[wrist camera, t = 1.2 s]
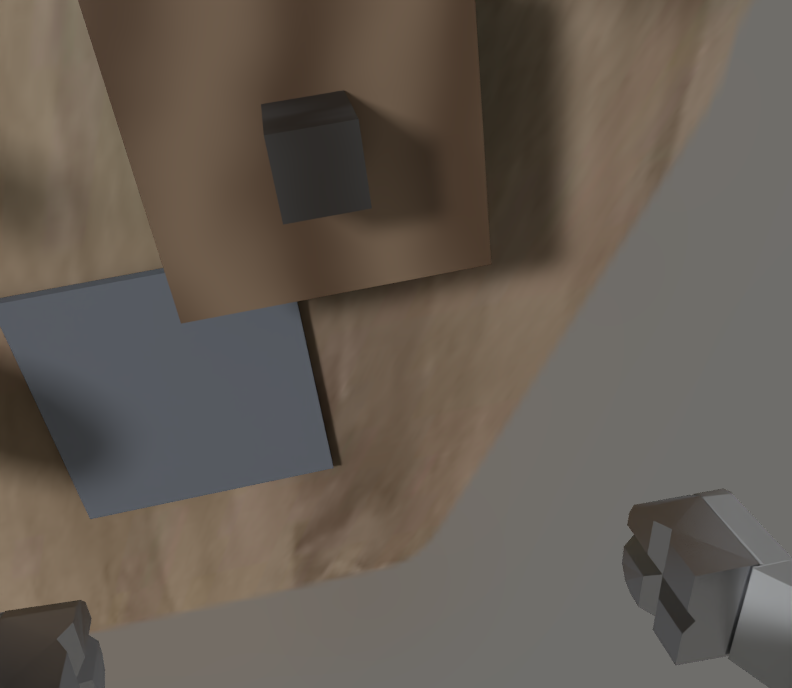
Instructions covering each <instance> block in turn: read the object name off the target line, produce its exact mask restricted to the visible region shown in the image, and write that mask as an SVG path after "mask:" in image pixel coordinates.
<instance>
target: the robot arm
mask: <svg viewBox="0 0 792 688" xmlns="http://www.w3.org/2000/svg"><path fill="white" fill-rule="evenodd" d="M627 525H628V526H629V528H630V529H631V531H632V532H633V533H634V535H633V536H632V538H631V539H630V540H629V541H628V542H627V543H626V545H625V546H624V551H623V559H622V565H623V571H624V577H625V581H626V584H627V586H628V589H629V591H630V593H631V595H632V597H633V599H634V600H635V602H636V604H637V605H638V606H639V607H640V608H642V609H643V610H645V611H647V612H649V613H650V614H652V615H654V616H655V619H654V626H653V631H654V632H655V634H656V635H657V637H658V638H659V640H660V642H661V643H662V645H663V646H664V648H665V649H666V651H667V653H668V654H669V656H670V657H671V659H672V661H673V662H674V664H675V665H680V664H686V663H691V662H697V661H703V660H708V659H714V658H719V657H724V656H729V657H728V659H729V660H731V661H732V662H733V663H735V664H736V665H738V666H739V667H740V668H742V669H743V670H745V671H746V672H748V673H749V674H750V675H752V676H753V677H755V678H756V679H758V680H759V681H760V682H762V683H763V684H765V685H766V686H767V687H769V688H792V557H791V556H790V555H789V554H788V552H787V551H786V550H785V549H784V548H783V547H782V546H781V545H780V544H779V543H778V542H777V541H776V540H775V539H774V537H773V536H772V535H771V534H770V533H769V532H768V531H767V530H766V529H765V528H764V527H763V526H762V524H761V523H760V522H759V521H758V520H757V519H756V518H755V517H754V516H753V515H752V514H751V513H750V512H749V511H748V509H747V508H746V507H745V506H744V505H743V504H742V503H741V502H740V501H739V500H738V499H737V498H736V497H735V496H734V494H732V493H731V492H730V491H727V490H726V489H718V490H713V491H707V492H702V493H697V494H693V495H687V496H681V497H675V498H669V499H664V500H658V501H653V502H648V503H642V504H637V505H634V506H633V507H632V509H631V511H630V513H629V518H628V524H627ZM90 624H91V616H90V613H89V610H88V608H87V605H86V602H85V601H82V600H77V601H70V602H63V603H56V604H50V605H43V606H36V607H29V608H22V609H16V610H9V611H5V612H1V613H0V688H105V668H104V661H103V655H102V651H101V648H100V644H99V641H97V640H96V639H94V638H93V637H91V636H89V630H90Z"/></svg>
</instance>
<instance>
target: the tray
mask: <svg viewBox="0 0 792 688" xmlns="http://www.w3.org/2000/svg"><path fill="white" fill-rule="evenodd" d="M0 327H1V329H2V331H3V333H4V335H5V337H6V340H7V342H8V344H9V346H10V348H11V350H12V352H13V355H14V357H15V359H16V361H17V363H18V365H19V367H20V370H21V372H22V374H23V376H24V378H25V380H26V382H27V385H28V387H29V389H30V391H31V393H32V395H33V397H34V400H35V402H36V404H37V406H38V408H39V410H40V412H41V415H42V417H43V419H44V421H45V423H46V425H47V427H48V430H49V432H50V434H51V436H52V438H53V440H54V442H55V445H56V447H57V449H58V451H59V453H60V455H61V457H62V460H63V462H64V464H65V466H66V468H67V470H68V472H69V475H70V477H71V479H72V481H73V483H74V485H75V487H76V490H77V492H78V494H79V496H80V498H81V500H82V502H83V505H84V507H85V509H86V511H87V513H88V515H89V517H90V519H93V518H98V517H103V516H107V515H112V514H117V513H122V512H126V511H131V510H136V509H141V508H145V507H150V506H155V505H160V504H164V503H169V502H174V501H179V500H184V499H188V498H193V497H198V496H203V495H207V494H212V493H217V492H222V491H226V490H231V489H236V488H241V487H245V486H250V485H255V484H260V483H264V482H269V481H274V480H279V479H283V478H288V477H293V476H298V475H302V474H307V473H312V472H317V471H321V470H326V469H331V468H333V462H332V458H331V453H330V448H329V444H328V439H327V435H326V430H325V426H324V421H323V417H322V412H321V407H320V403H319V398H318V394H317V389H316V385H315V380H314V375H313V371H312V366H311V362H310V357H309V353H308V348H307V344H306V339H305V334H304V330H303V325H302V321H301V316H300V312H299V307H298V302H292V303H286V304H281V305H276V306H271V307H266V308H260V309H255V310H250V311H245V312H239V313H234V314H229V315H224V316H218V317H213V318H208V319H203V320H198V321H192V322H187V323H182V324H181V322H180V319H179V316H178V313H177V309H176V306H175V303H174V300H173V297H172V294H171V291H170V287H169V284H168V281H167V278H166V275H165V272H164V269H163V268H161V269H156V270H150V271H145V272H139V273H134V274H129V275H123V276H118V277H112V278H107V279H101V280H96V281H91V282H85V283H80V284H74V285H69V286H64V287H58V288H53V289H47V290H42V291H37V292H31V293H26V294H20V295H15V296H10V297H4V298H0Z"/></svg>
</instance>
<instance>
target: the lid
mask: <svg viewBox="0 0 792 688" xmlns="http://www.w3.org/2000/svg"><path fill="white" fill-rule="evenodd" d="M78 1H79V5H80V8H81V11H82V14H83V17H84V20H85V23H86V27H87V30H88V33H89V36H90V39H91V42H92V45H93V49H94V52H95V55H96V58H97V61H98V64H99V67H100V71H101V74H102V77H103V80H104V83H105V86H106V89H107V93H108V96H109V99H110V102H111V105H112V108H113V111H114V115H115V118H116V121H117V124H118V127H119V130H120V133H121V137H122V140H123V143H124V146H125V149H126V152H127V155H128V159H129V162H130V165H131V168H132V171H133V174H134V177H135V181H136V184H137V187H138V190H139V193H140V196H141V199H142V203H143V206H144V209H145V212H146V215H147V218H148V221H149V225H150V228H151V231H152V234H153V237H154V240H155V243H156V247H157V250H158V253H159V256H160V259H161V262H162V265H163V269H164V272H165V275H166V278H167V281H168V284H169V287H170V291H171V294H172V297H173V300H174V303H175V306H176V309H177V313H178V316H179V319H180V322H181V324H182V323H187V322H192V321H198V320H203V319H208V318H213V317H218V316H224V315H229V314H234V313H239V312H245V311H250V310H255V309H260V308H266V307H271V306H276V305H281V304H286V303H292V302H297V301H302V300H307V299H313V298H318V297H323V296H328V295H334V294H339V293H344V292H349V291H354V290H360V289H365V288H370V287H375V286H381V285H386V284H391V283H396V282H401V281H407V280H412V279H417V278H422V277H428V276H433V275H438V274H443V273H449V272H454V271H459V270H464V269H469V268H475V267H480V266H485V265H490V264H491V249H490V232H489V216H488V200H487V184H486V167H485V151H484V135H483V119H482V102H481V86H480V70H479V53H478V37H477V21H476V5H475V0H78Z"/></svg>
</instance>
